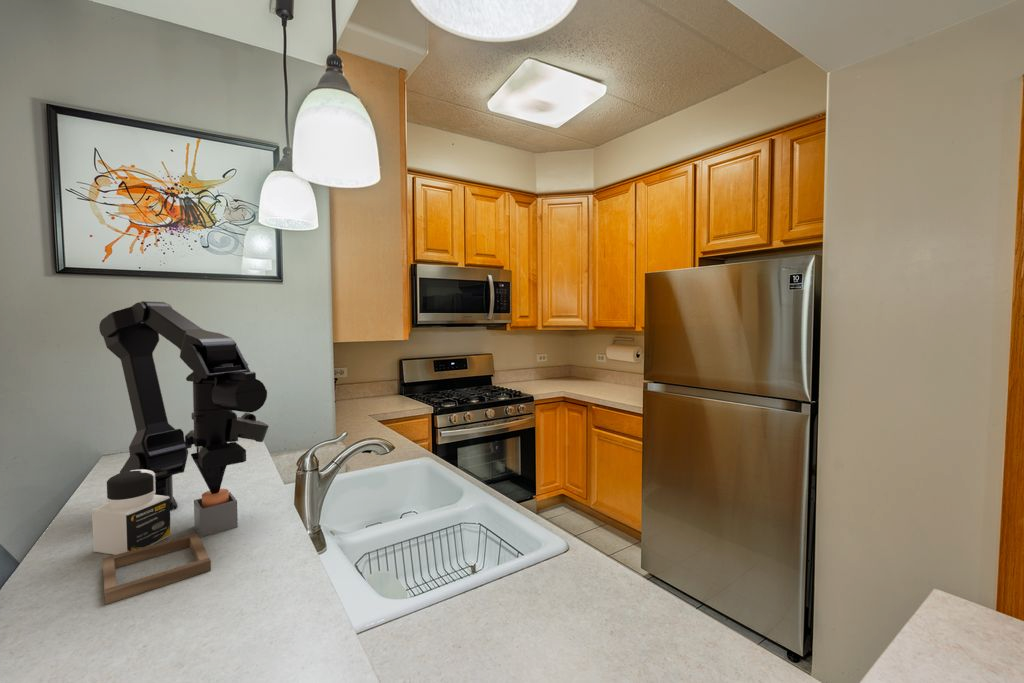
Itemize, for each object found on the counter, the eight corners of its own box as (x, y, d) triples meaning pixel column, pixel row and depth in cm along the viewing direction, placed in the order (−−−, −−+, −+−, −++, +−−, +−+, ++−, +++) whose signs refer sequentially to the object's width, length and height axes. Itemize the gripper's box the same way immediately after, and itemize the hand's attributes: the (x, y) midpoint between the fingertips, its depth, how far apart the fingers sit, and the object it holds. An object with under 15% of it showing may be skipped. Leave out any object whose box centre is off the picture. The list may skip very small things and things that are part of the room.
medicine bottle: (128, 557, 69) (125, 482, 68) (92, 552, 70) (89, 479, 69) (171, 536, 76) (170, 467, 75) (138, 531, 77) (136, 464, 76)
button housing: (194, 526, 79) (193, 500, 79) (230, 516, 83) (230, 491, 83) (200, 537, 75) (199, 509, 75) (237, 526, 79) (237, 500, 79)
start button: (200, 503, 79) (199, 492, 79) (226, 497, 82) (225, 486, 82) (204, 510, 76) (204, 499, 76) (231, 504, 79) (230, 493, 79)
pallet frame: (103, 568, 66) (102, 558, 66) (197, 541, 74) (197, 532, 74) (105, 604, 57) (104, 593, 57) (210, 570, 65) (210, 560, 65)
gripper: (278, 409, 77) (279, 496, 78) (250, 395, 90) (251, 469, 91) (201, 418, 69) (203, 515, 70) (183, 401, 83) (185, 482, 83)
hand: (215, 492), depth 79 cm, fingers closed, pressing on start button
